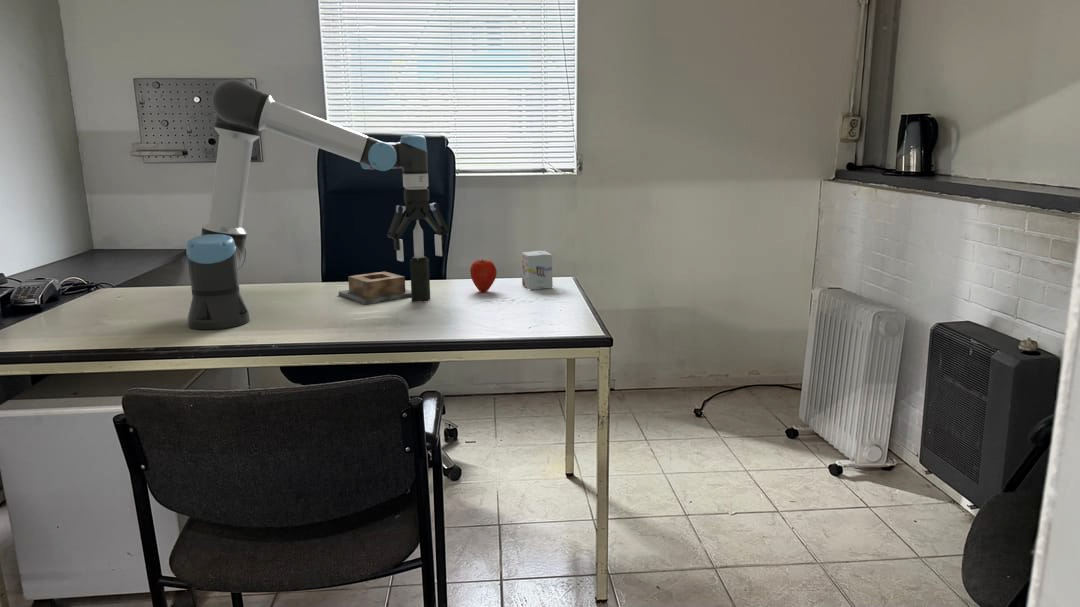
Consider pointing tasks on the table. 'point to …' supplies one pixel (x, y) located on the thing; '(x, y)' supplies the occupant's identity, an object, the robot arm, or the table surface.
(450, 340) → the table surface
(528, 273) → the ink box
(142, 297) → the table surface
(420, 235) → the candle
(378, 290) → the holder
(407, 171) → the robot arm
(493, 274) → the red strawberry
